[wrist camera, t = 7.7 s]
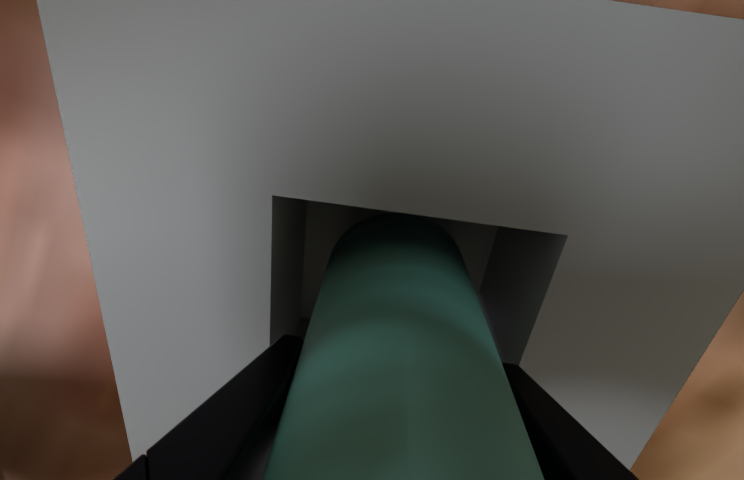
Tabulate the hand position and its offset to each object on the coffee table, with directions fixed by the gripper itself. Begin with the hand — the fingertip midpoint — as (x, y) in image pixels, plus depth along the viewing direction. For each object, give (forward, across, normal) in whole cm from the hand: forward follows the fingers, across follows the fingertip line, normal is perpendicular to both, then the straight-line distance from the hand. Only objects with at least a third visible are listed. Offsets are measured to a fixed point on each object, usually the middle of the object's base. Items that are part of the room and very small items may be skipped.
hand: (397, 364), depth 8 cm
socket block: (+6, 0, 0) cm, 6 cm away
